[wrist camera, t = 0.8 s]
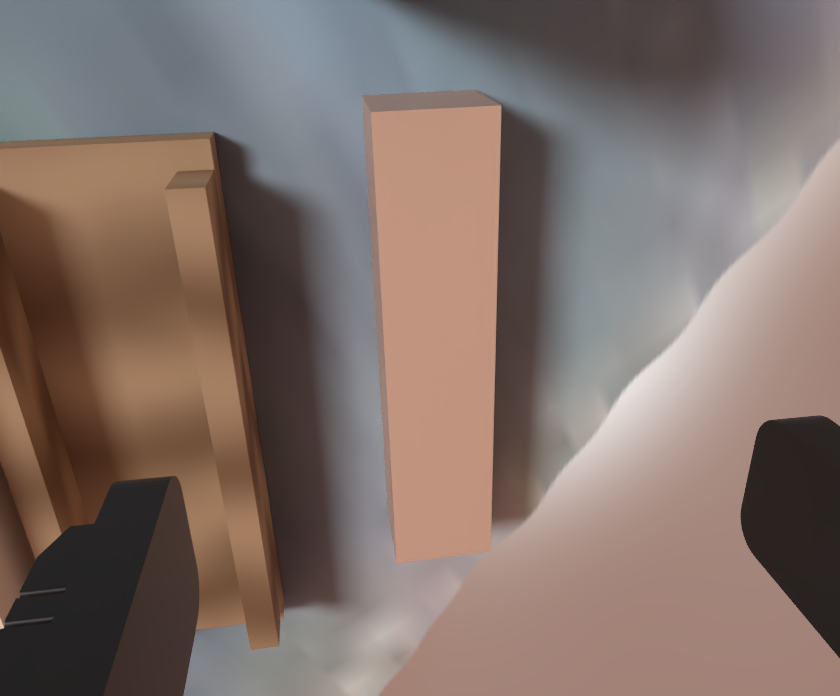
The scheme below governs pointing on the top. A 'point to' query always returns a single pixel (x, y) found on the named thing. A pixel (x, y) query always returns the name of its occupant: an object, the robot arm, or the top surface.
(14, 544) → the strip
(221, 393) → the rack
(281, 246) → the top surface
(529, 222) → the top surface
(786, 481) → the robot arm
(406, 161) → the clay strip
